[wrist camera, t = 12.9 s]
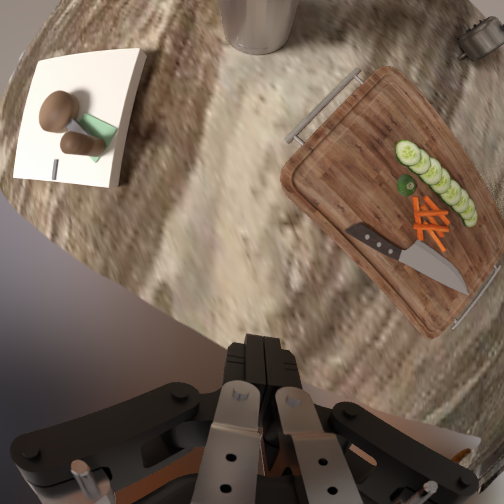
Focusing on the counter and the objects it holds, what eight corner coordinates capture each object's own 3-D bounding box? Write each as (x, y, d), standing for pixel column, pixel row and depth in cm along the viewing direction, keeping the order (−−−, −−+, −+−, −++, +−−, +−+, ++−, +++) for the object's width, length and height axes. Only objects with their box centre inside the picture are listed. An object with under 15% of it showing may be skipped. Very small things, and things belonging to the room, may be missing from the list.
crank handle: (42, 120, 31) (12, 114, 24) (65, 87, 30) (37, 75, 23) (91, 171, 33) (61, 170, 26) (117, 134, 32) (90, 126, 25)
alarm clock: (460, 69, 32) (520, 45, 16) (441, 44, 31) (497, 12, 15) (481, 49, 30) (533, 28, 14) (464, 27, 29) (513, 0, 14)
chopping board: (511, 245, 40) (520, 249, 37) (433, 348, 45) (440, 356, 42) (373, 50, 33) (381, 43, 30) (256, 169, 37) (256, 167, 34)
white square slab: (48, 65, 32) (37, 60, 28) (147, 55, 32) (139, 47, 29) (24, 176, 36) (12, 177, 33) (118, 186, 37) (107, 187, 34)
